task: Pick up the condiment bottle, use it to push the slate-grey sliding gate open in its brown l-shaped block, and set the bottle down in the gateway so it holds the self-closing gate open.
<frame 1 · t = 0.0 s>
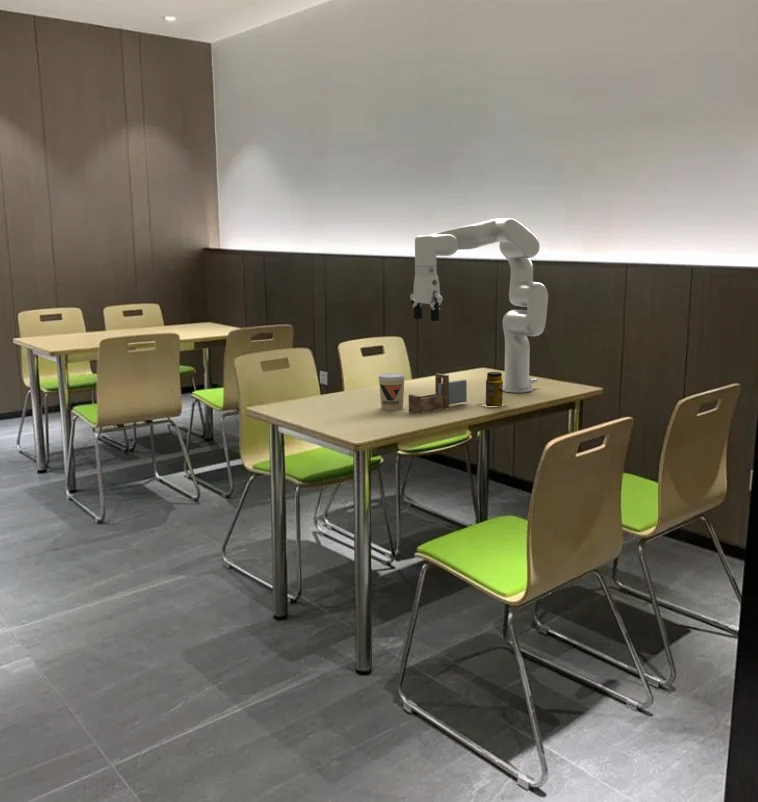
hand: (426, 319, 280), 31 cm above the table, tool pointing down, fingers open, 9 cm apart
coffee cup: (392, 408, 284), on the table
condiment: (492, 406, 285), on the table
gate: (452, 392, 285), point 5 cm above the table, slide at 0.0 cm
brown l-shaped block: (430, 409, 280), on the table
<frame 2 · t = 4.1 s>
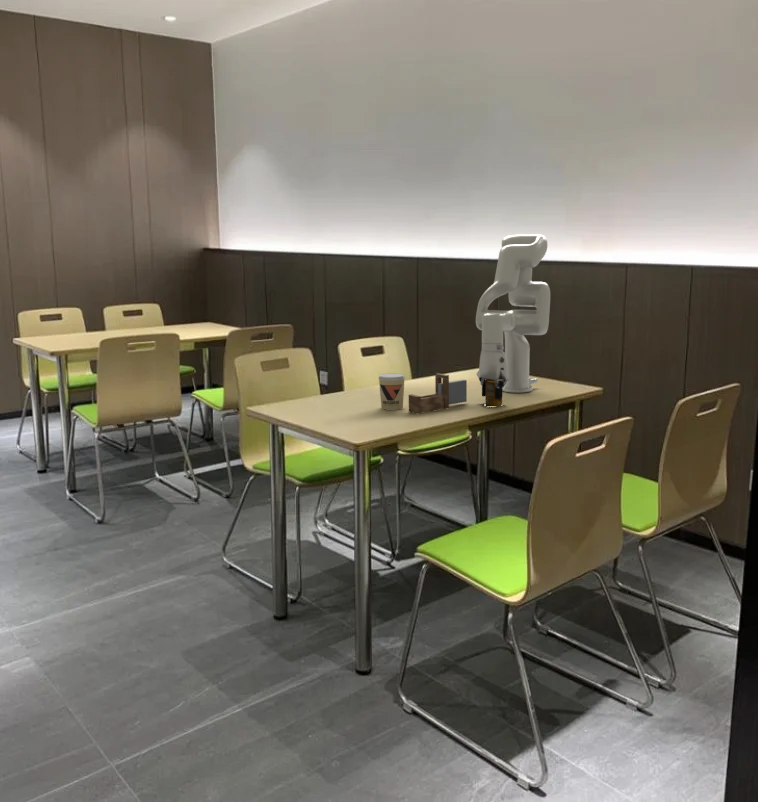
hand: (492, 396, 284), 3 cm above the table, tool pointing down, fingers closed on condiment, 6 cm apart
condiment: (491, 406, 285), on the table, touching gripper
everything else where it was.
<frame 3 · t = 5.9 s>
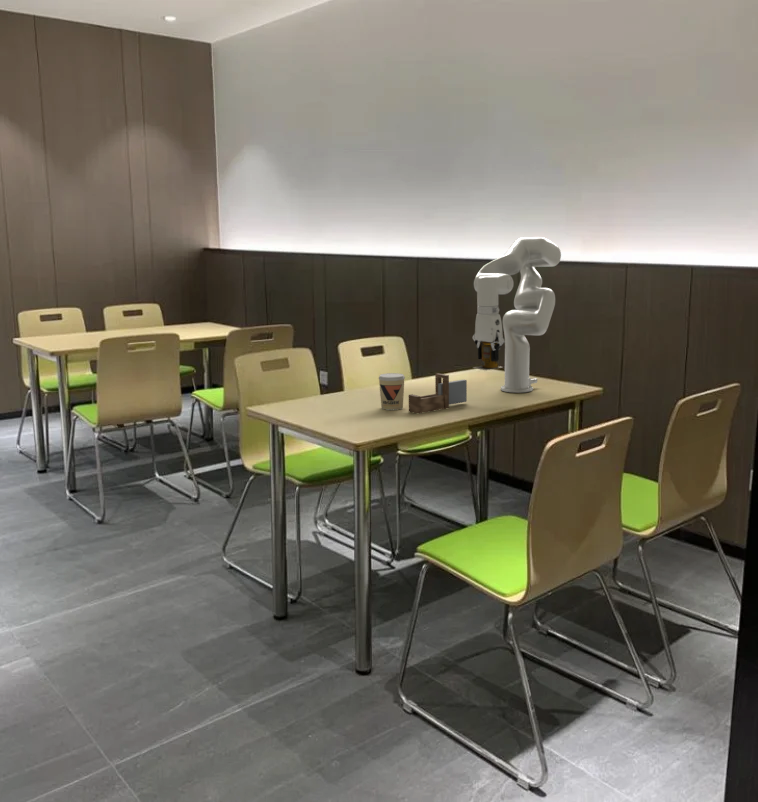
hand: (488, 359, 287), 16 cm above the table, tool pointing down, fingers closed on condiment, 6 cm apart
condiment: (488, 368, 288), point 13 cm above the table, touching gripper
everything else where it was.
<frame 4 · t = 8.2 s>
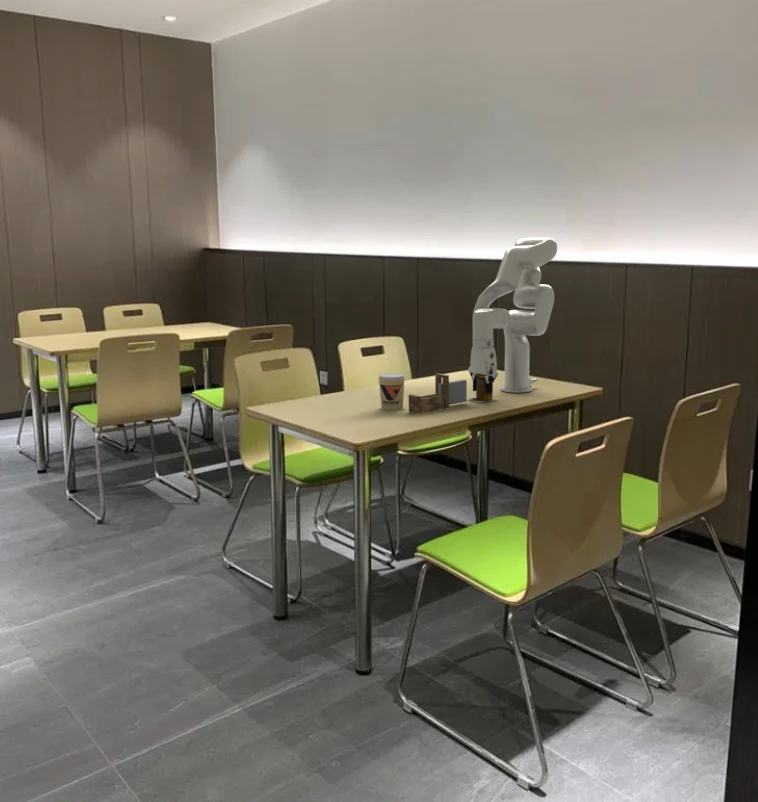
hand: (482, 391, 293), 3 cm above the table, tool pointing down, fingers closed on condiment, 6 cm apart
condiment: (482, 400, 294), on the table, touching gripper
everything else where it was.
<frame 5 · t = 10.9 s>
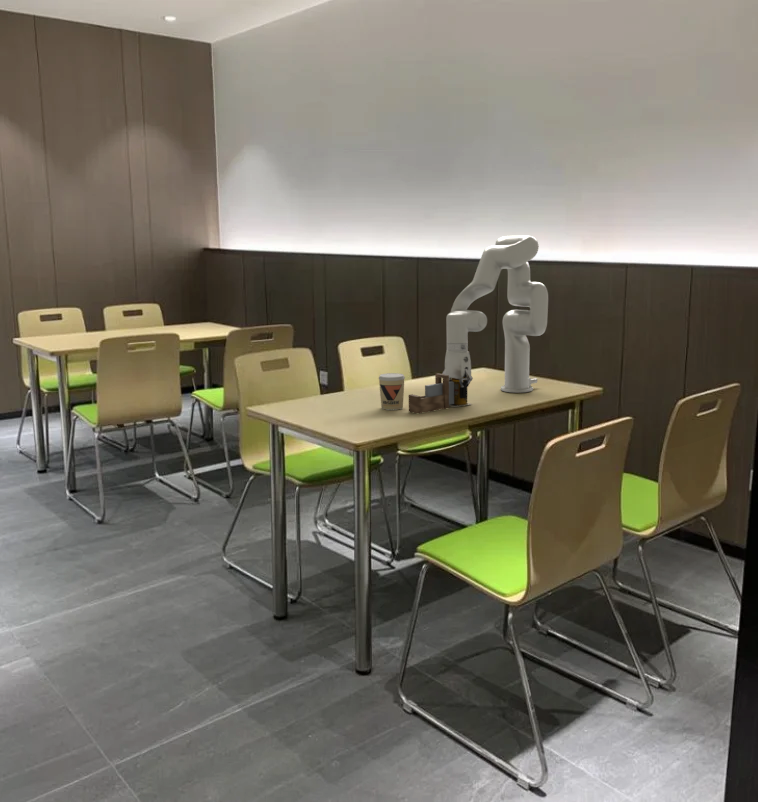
hand: (457, 395, 286), 3 cm above the table, tool pointing down, fingers closed on condiment, 6 cm apart
condiment: (457, 405, 287), on the table, touching gripper
gate: (439, 394, 281), point 5 cm above the table, slide at 5.9 cm
everything else where it was.
when the fingers open (3 cm above the table, at t = 12.3 s): condiment stays where it is, on the table.
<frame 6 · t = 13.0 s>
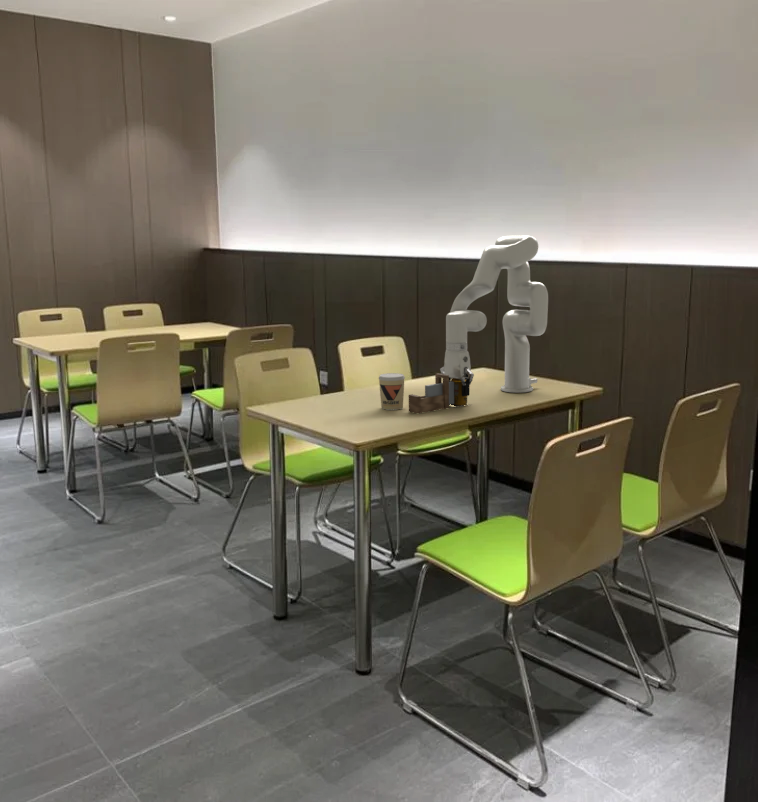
hand: (456, 393, 286), 4 cm above the table, tool pointing down, fingers open, 9 cm apart
condiment: (456, 405, 287), on the table
everything else where it was.
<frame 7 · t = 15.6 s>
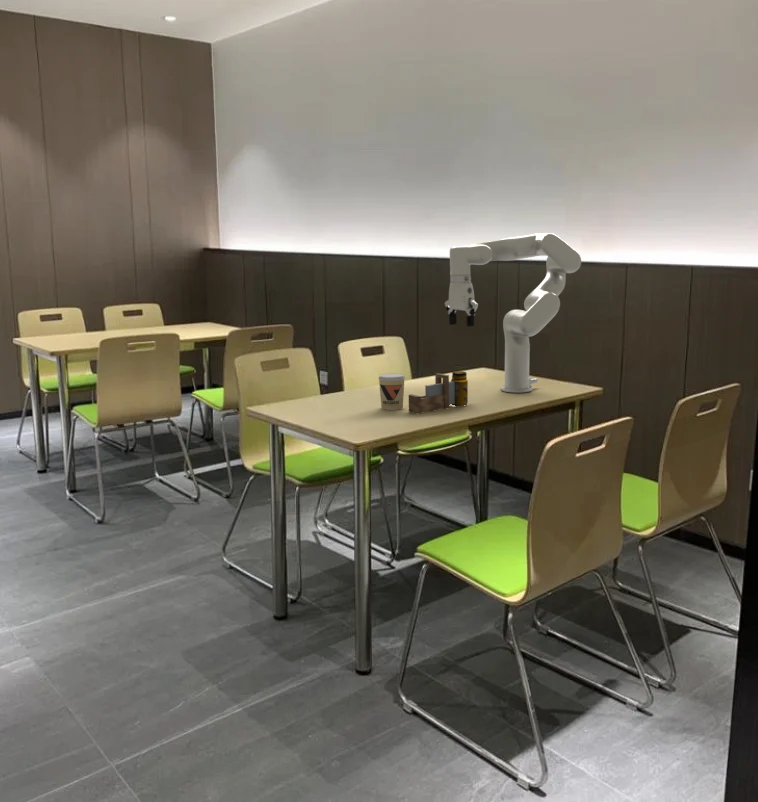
hand: (461, 325, 299), 27 cm above the table, tool pointing down, fingers open, 9 cm apart
nothing on the table moved.
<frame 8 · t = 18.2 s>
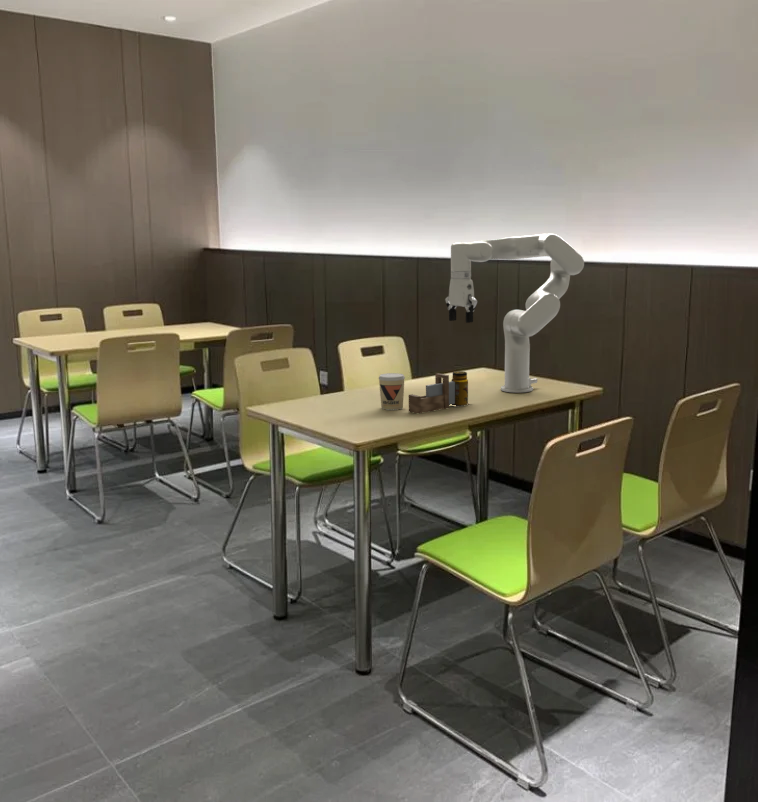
hand: (460, 321, 300), 28 cm above the table, tool pointing down, fingers open, 9 cm apart
nothing on the table moved.
at the end: gate slide at 5.5 cm; condiment inside the target area (0.9 cm from its centre), on the table; condiment tilted 0° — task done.
